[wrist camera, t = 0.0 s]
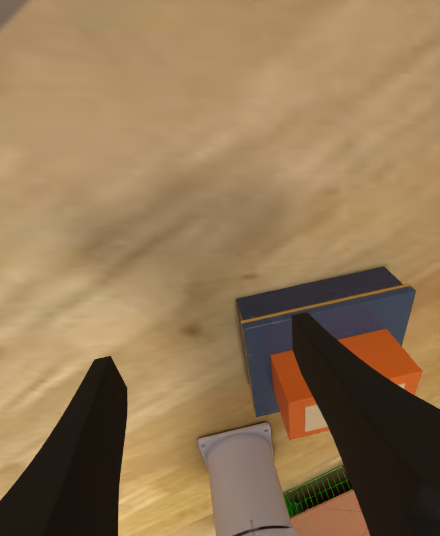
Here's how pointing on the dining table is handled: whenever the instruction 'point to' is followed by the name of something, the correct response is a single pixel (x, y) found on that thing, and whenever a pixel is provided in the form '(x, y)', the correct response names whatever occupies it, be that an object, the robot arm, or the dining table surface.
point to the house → (329, 515)
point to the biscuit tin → (318, 319)
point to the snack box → (300, 398)
